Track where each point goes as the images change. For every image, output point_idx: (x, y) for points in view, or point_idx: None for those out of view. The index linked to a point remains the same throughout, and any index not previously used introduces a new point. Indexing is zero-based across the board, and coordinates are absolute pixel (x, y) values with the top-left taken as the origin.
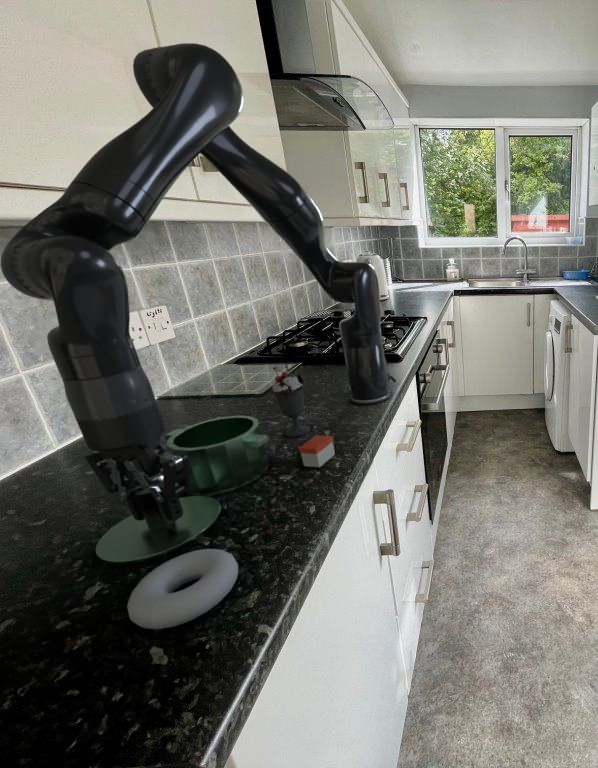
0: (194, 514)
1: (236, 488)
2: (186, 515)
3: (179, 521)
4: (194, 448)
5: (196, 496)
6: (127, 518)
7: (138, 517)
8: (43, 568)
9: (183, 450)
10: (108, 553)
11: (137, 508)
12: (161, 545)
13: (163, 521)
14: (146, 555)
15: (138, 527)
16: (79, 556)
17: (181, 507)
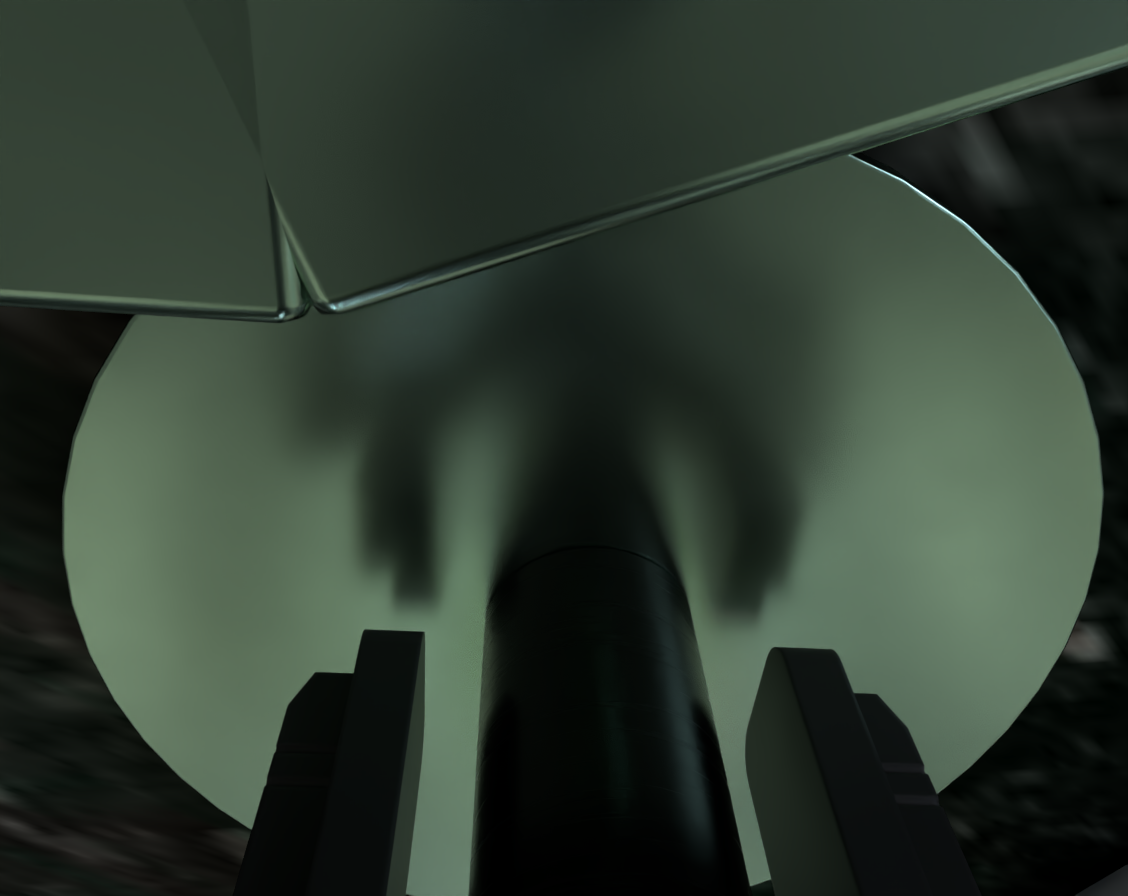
0: (812, 472)
1: None
2: (730, 494)
3: (727, 573)
4: (658, 8)
5: None
6: (85, 580)
7: (418, 780)
8: (72, 892)
9: (35, 304)
10: (463, 877)
11: (408, 862)
12: None
13: (750, 789)
14: None
15: None
16: (174, 813)
17: (926, 776)
